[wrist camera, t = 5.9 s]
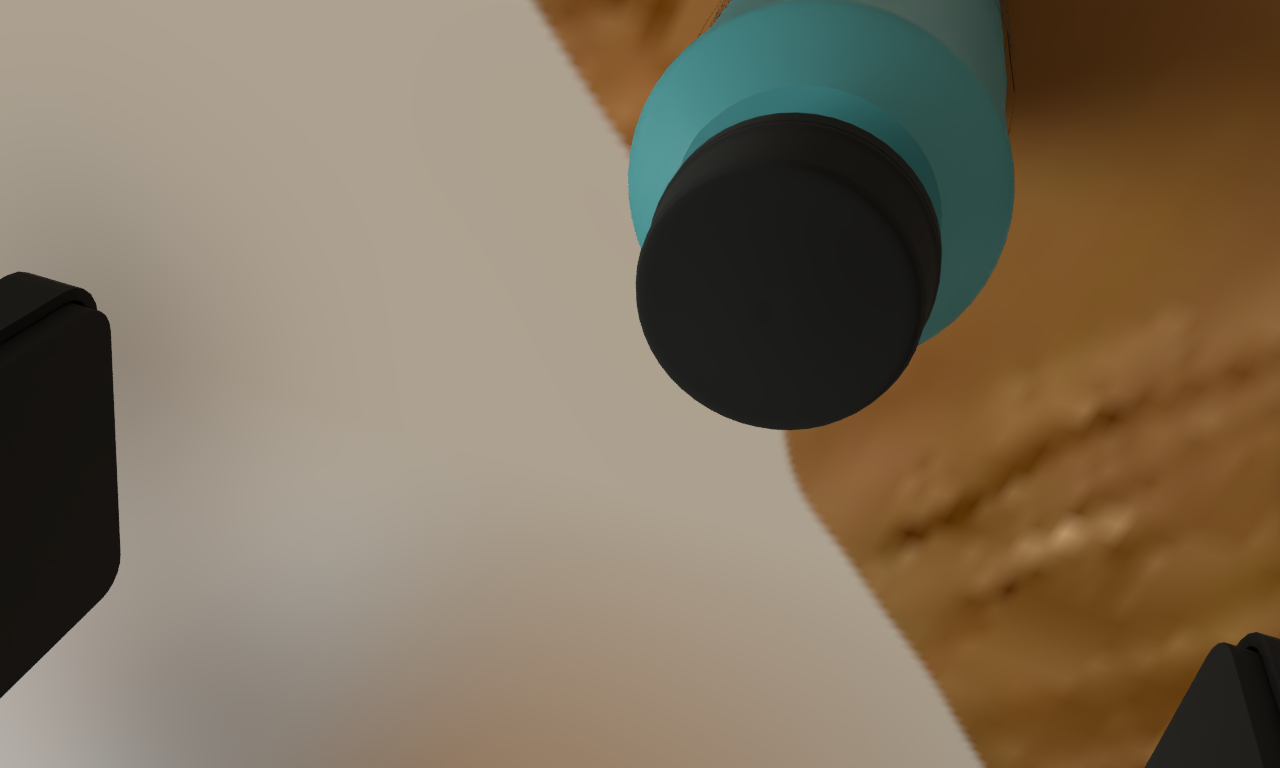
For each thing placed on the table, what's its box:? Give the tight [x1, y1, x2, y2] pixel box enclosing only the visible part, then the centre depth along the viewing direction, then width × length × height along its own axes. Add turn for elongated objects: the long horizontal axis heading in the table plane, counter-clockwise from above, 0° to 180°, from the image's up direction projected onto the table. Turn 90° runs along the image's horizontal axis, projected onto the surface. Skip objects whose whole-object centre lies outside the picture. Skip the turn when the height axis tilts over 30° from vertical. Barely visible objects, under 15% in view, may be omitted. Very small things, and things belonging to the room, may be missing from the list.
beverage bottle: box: [628, 0, 1015, 430], centre depth 24 cm, size 6×7×20 cm
